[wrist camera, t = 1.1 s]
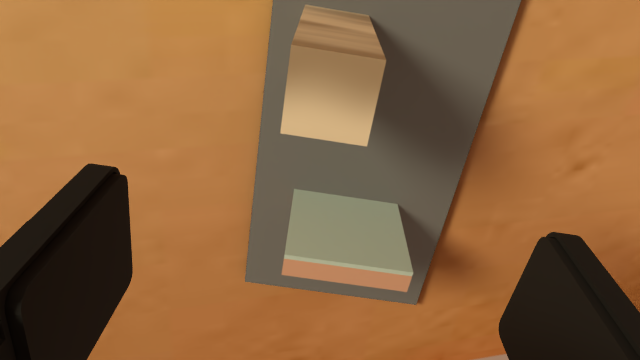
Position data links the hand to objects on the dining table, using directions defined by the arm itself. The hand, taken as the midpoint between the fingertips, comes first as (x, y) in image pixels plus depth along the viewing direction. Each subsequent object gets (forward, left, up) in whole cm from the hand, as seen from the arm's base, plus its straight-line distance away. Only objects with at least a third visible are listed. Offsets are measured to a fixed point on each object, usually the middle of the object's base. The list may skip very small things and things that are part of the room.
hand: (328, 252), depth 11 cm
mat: (-8, -3, -23) cm, 24 cm away
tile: (-12, -3, -22) cm, 25 cm away
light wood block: (0, 0, -22) cm, 22 cm away
